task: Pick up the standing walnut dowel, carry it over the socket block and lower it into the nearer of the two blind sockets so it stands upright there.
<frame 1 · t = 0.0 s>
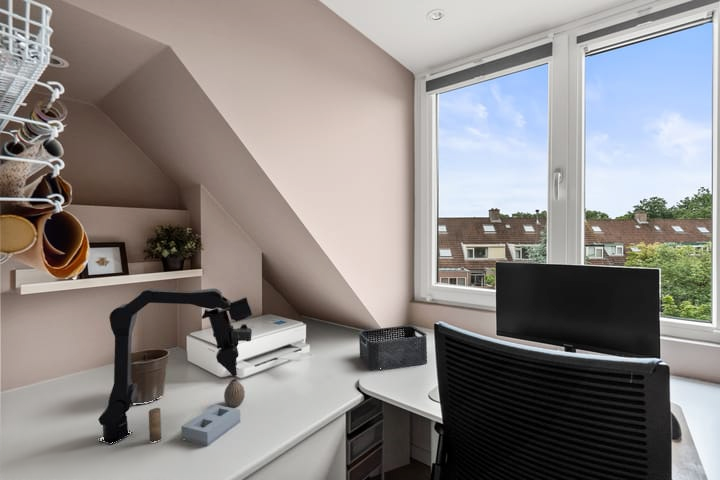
hand: (235, 370, 120), 15 cm above the table, tool pointing down, fingers open, 9 cm apart
storage bin: (392, 361, 170), on the table
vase: (234, 405, 129), on the table
dowel: (155, 440, 107), on the table
socket block: (212, 430, 112), on the table
plant pot: (146, 398, 135), on the table
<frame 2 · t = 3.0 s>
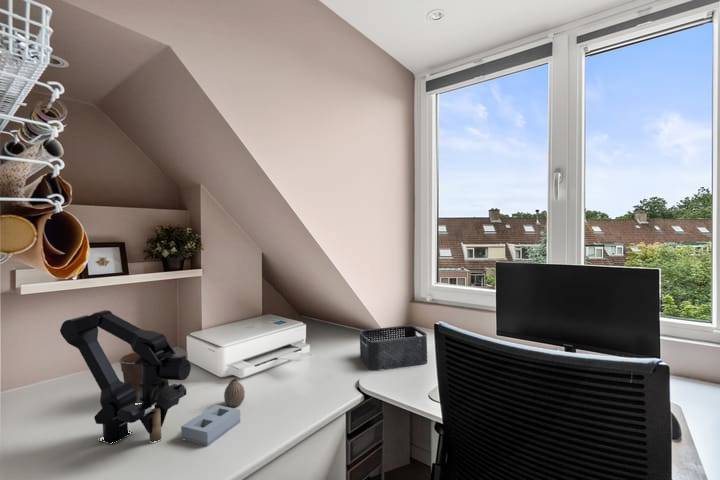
hand: (155, 430, 107), 3 cm above the table, tool pointing down, fingers closed on dowel, 3 cm apart
dowel: (155, 440, 107), on the table, touching gripper
everything else where it was.
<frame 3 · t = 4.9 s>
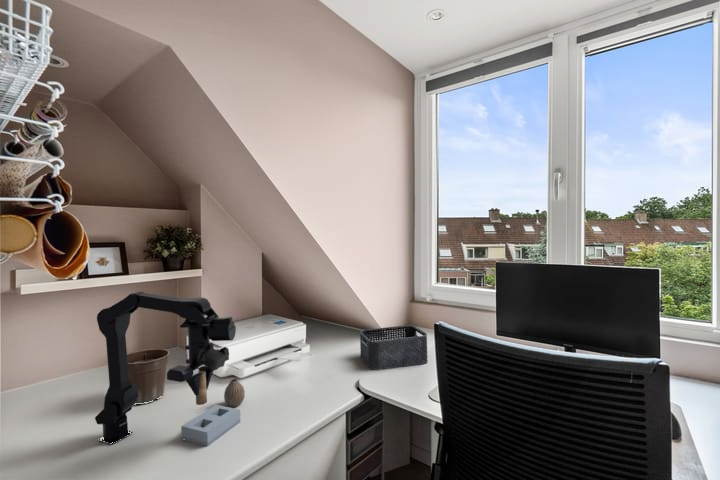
hand: (201, 392, 109), 13 cm above the table, tool pointing down, fingers closed on dowel, 3 cm apart
dowel: (201, 402, 109), point 10 cm above the table, touching gripper
everything else where it was.
when the fingers open (5 cm above the table, at t = 7.1 s): dowel stays where it is, resting on socket block.
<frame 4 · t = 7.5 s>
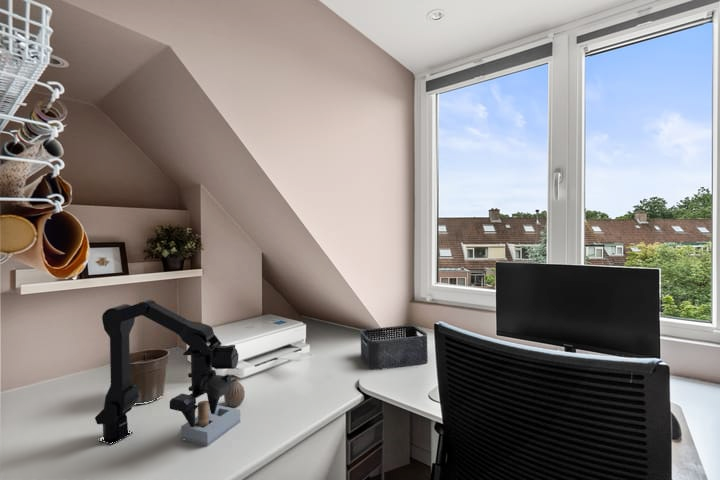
hand: (203, 419, 109), 5 cm above the table, tool pointing down, fingers open, 8 cm apart
dowel: (203, 432, 109), point 1 cm above the table, touching socket block
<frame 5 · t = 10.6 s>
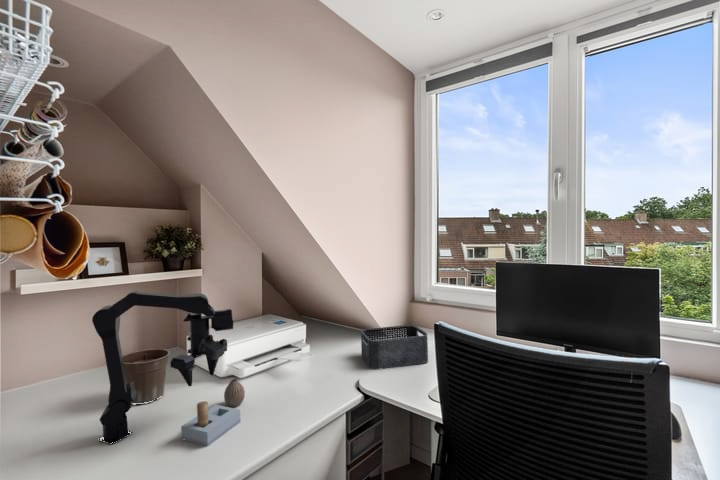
hand: (201, 380, 119), 13 cm above the table, tool pointing down, fingers open, 9 cm apart
at the end: dowel 0.0 cm from the target spot on the socket block, point 1.0 cm above the socket block's base; dowel tilted 1°; the gripper is holding nothing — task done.
